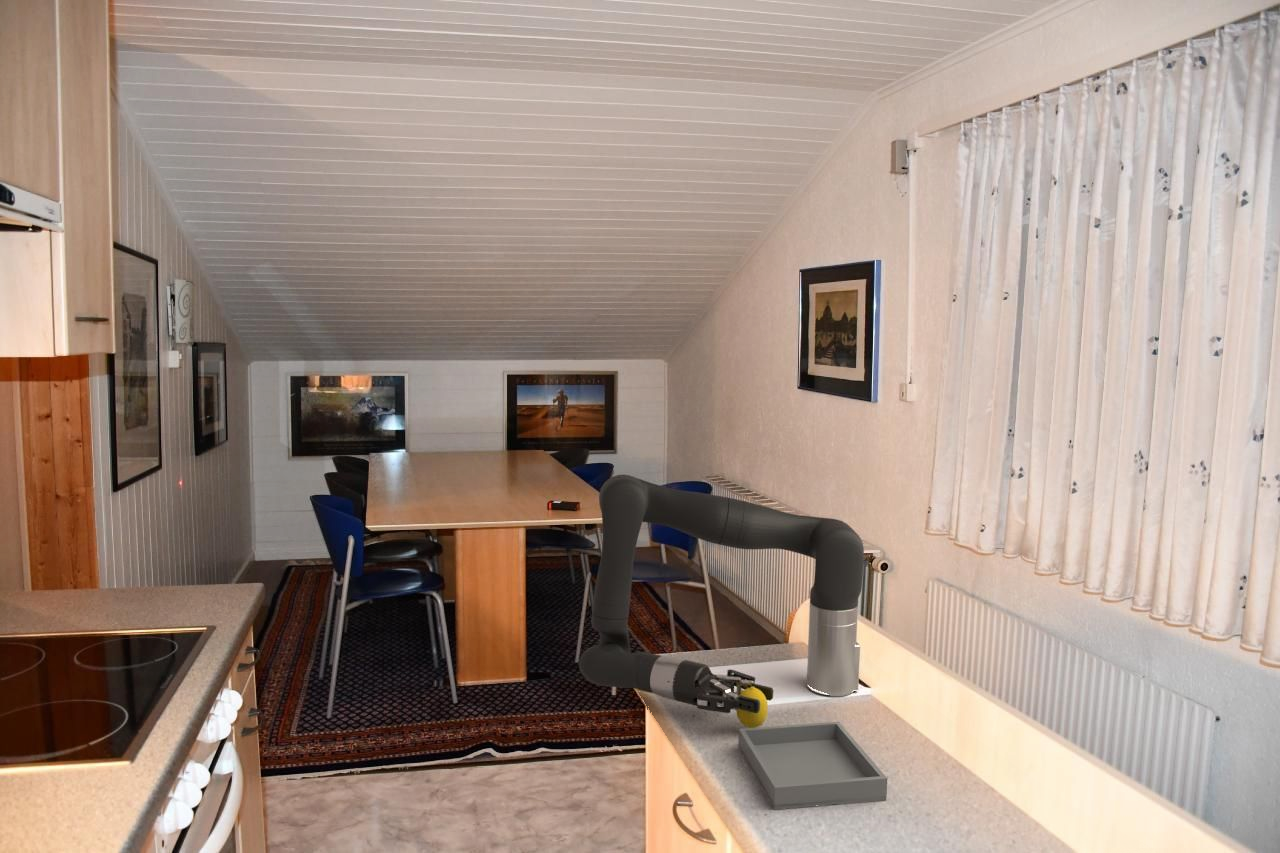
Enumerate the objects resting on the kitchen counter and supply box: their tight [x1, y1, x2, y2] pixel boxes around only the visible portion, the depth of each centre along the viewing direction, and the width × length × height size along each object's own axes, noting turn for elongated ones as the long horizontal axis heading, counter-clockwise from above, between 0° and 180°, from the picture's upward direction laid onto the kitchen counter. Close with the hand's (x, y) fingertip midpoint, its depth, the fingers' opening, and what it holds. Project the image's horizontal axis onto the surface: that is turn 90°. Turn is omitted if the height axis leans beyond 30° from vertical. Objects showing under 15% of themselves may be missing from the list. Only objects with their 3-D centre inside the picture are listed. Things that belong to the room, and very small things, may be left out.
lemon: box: [735, 686, 769, 728], centre depth 175 cm, size 6×6×8 cm
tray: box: [737, 721, 888, 810], centre depth 160 cm, size 18×20×4 cm
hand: (765, 700), depth 173 cm, fingers closed on lemon, 5 cm apart
